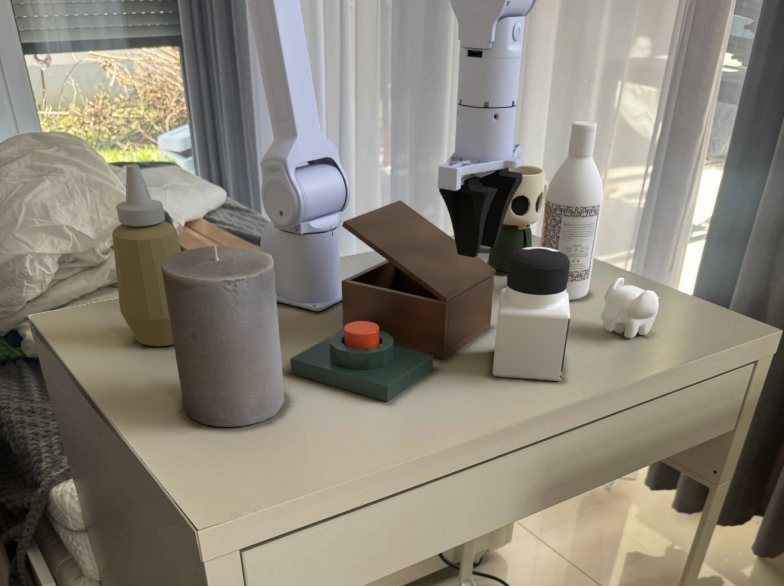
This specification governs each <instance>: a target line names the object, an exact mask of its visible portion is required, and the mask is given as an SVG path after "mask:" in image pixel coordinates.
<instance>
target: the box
mask: <svg viewBox="0 0 784 586" xmlns="http://www.w3.org/2000/svg"><path fill="white" fill-rule="evenodd" d="M340 283H341V287H342V300H341V307H342V331H344V327H345V325H346V324H348V323H351V322H356V321H368V322H372V323H375V324H377V325H378V326H379V331H383V332H386V333H388V334H389V335H390V336H392V337H393V338H394V345H395V346H399V347H403V348H407V349H411V350H415V351H418V352H422V353H426V354H430V355H433V359H437V360H441V361H445V360H446V359H448V358H449V357H450V356H452V355H453V354H454V353H456V352H458V351H459V350H460V349H462V348H464V347H465V346H466V345H467V344H469V343H471V342H472V341H473V340H475V339H476V338H478V337H479V336H480V335H482V334H483V333H485V332H486V331H488V330H489V329H491V324H492V323H491V322H492V312H493V311H492V310H493V299H494V289H495V288H494V287H495V274H494V275H492V276H490V277H488V278H487V279H485V280H483V281H482V282H480V283H478V284H477V285H475V286H473V287H472V288H470V289H468V290H467V291H465V292H463V293H462V294H460V295H458V296H457V297H455V298H453V299H452V300H450V301H448V302H447V303H444V302H443V301H441V300H440V299H439V298H437V297H436V296H435V295H433V294H432V293H431V292H429V291H428V290H427V289H425V288H424V287H423V286H421V285H420V284H419V283H417V282H416V281H415V280H413V279H412V278H411V277H409V276H408V275H407V274H405V273H404V272H403V271H401V270H400V269H399V268H397V267H396V266H395V265H393V264H392V263H390V262H389V261H388V260H386V259H385V260H383V261H381V262H379V263H376V264H375V265H373V266H370V267H367V268H366V269H364V270H362V271H359V272H357V273H355V274H353V275H351V276H349V277H347V278H344V279H342V280H340Z"/></svg>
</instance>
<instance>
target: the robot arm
mask: <svg viewBox="0 0 784 586" xmlns="http://www.w3.org/2000/svg"><path fill="white" fill-rule="evenodd" d="M246 1H247V7H248V11H249V17H250V21H251V27H252V32H253V37H254V42H255V49H256V52H257V58H258V64H259V68H260V73H261V79H262V84H263V88H264V94H265V99H266V104H267V109H268V115H269V120H270V125H271V131H272V135H273V141H272V142H271V144H270V146H269V147H268V149H267V150H266V152H265V154H264V155H263V157H262V158H261V159H260V161H259V164H260V165H259V166H260V169H261V170H260V171H261V175H262V177H261V178H262V183H261V189H260V190H261V202H262V206H263V209H264V212H265V214H266V215H267V217H268V219H269V220H270V222H268V223H267V224H266V225H265V226H264V228H263V230H262V233H261V236H260V245H259V247H260V250H259V251H262V252H263V253H268V254H270V255H271V256H273V257H272V259H273V261H274V262H273V263H274V265H273V267H274V276H275V291H276V300H277V303H283V304H286V305H290V306H294V307H297V308H298V307H299V308H303V309H306V310H310V311H314V312H320V311H323V310H325V309H327V308H329V307H331V306H333V305H335V304H337V303H339V302H342V286H341V273H340V271H341V270H340V245H339V244H340V243H339V223H341V222H342V213H343V212H344V211H345V210H346V209H347V207H348V205H349V204H350V203H349V202H350V199H351V186H350V182H349V178H348V176H347V173H346V172H345V170H344V168H343V165H342V163H341V160H340V153H339V149H338V147H337V146H336V145H335V143H333V142H332V141H331V140H330V139H329V138H328V137H326V136H325V135H324V133H323V132H322V129H321V123H320V115H319V111H318V105H317V98H316V93H315V92H316V91H315V85H314V79H313V75H312V69H311V61H310V57H309V50H308V44H307V38H306V31H305V27H304V21H303V20H304V19H303V14H302V13H303V12H302V8H301V1H300V0H246ZM448 1H449V4H450V6H451V9H452V11H453V14H454V15H455V17H456V20H457V25H458V29H457V30H458V31H457V32H458V33H457V40H458V41H459V54H458V55H459V57H458V77H457V99H456V102H457V103H456V117H455V119H456V120H455V137H454V138H455V139H454V140H455V141H454V152H453V153H452V154H451V155H450V157H448V159H447V160H446V162H444V163H443V164H441V165H439V166H438V169H437V170H438V171H437V173H438V174H437V188H438V192H439V194H440V196H441V198H442V200H443V202H444V204H445V206H446V209H447V212H448V215H449V218H450V222H451V226H452V232H453V237H454V238H453V239H454V240H455V243H456V249H457V253H458V255H463V256H468V257H473V258H475V257H479V253H480V249H481V246H482V247H489V248H490V247H492V248H493V247H495V246H496V244H497V241H498V238H499V235H500V231H501V228H502V225H503V221H504V218H505V215H506V212H507V210H508V207H509V205H510V202H511V200H512V198H513V196H514V194H515V192H516V191H517V189H518V187H519V186H520V184H521V183H522V176H523V174H522V173H519V172H512V171H509V168H518V167H521V166H522V165H524V158H523V152H524V145H523V144H518V143H514V141H515V133H516V132H515V131H516V120H517V108H518V100H519V99H518V98H519V90H520V89H519V88H520V77H521V67H522V66H521V65H522V54H523V45H524V43H523V42H524V31H525V20H526V17H527V16H528V15H529V14H530V13H531V11H532V10H533V8H534V6H535V4H536V2H537V0H448ZM302 163H307V164H305V165H301V164H302ZM299 165H301V166H299Z"/></svg>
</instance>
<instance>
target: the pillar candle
mask: <svg viewBox="0 0 784 586" xmlns="http://www.w3.org/2000/svg"><path fill="white" fill-rule="evenodd" d="M181 251H182V252H178V253H175V254H173V255H171V256H169V257H168V258H167V259H165V260H164V261H163V263H162V265H161V268H162V274H163V280H164V287H165V293H166V299H167V304H168V311H169V316H170V323H171V329H172V335H173V343H174V344H173V349H174V354H175V361H176V367H177V373H178V379H179V385H180V391H181V400H182V405H183V410H184V412H185V413H186V415H187V416H188V417H189V418H190V419H191V420H194V421H196V422H197V423H200V424H203V425H207V426H214V427H220V428H234V427H245V426H249V425H254V424H256V423H257V424H258V423H261V422H265V421H266V420H268V419H271V418H272V417H274V416H276V415H277V414H278V412H279V411H280V409H281V408H282V407H283V405H284V403H285V390H284V389H285V388H284V375H283V361H282V351H281V339H280V326H279V315H278V304H277V303H278V301H277V300H276V291H275V276H274V267H273V265H274V263H273V262H274V261H273V259H272V257H273V256H271V255H270V254H268V253H263V252H262V251H260V250H259V249H255V248H250V247H245V246H235V245H217V244H214V245H211V246H201V247H196V248H189V249H186V250H181Z"/></svg>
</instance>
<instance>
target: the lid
mask: <svg viewBox="0 0 784 586" xmlns="http://www.w3.org/2000/svg"><path fill="white" fill-rule="evenodd" d="M341 227H342V228H343V229H345V230H346V231H348V232H349V233H350V234H351V235H353V236H354V237H356V239H358V240H360V241H361V242H362V243H364V244H365V245H366V246H368V247H369V248H370V249H372V250H373V251H374V252H376V253H377V254H378V255H380V256H381V257H382V258H384V259H385V260H388V261H389V262H390V263H392V264H393V265H395V266H396V267H397V268H399V269H400V270H401V271H403V272H404V273H405V274H407V275H408V276H409V277H411V278H412V279H413V280H415V281H416V282H417V283H419V284H420V285H421V286H423V287H424V288H425V289H427V290H428V291H429V292H431V293H432V294H433V295H435V296H436V297H437V298H439V299H440V300H441V301H443V302H444V303H447V302H448V301H450V300H452V299H453V298H455V297H457V296H458V295H460V294H462V293H463V292H465V291H467V290H468V289H470V288H472V287H473V286H475V285H477V284H478V283H480V282H482V281H483V280H485V279H487V278H488V277H490V276H492V275H494V276H495V274H496V272H497V269H496V268H494V267H492V266H491V265H489V264H488V262H486V261H484V260H483V259H482V258H480V257H479V256H477V257H475V258H473V257H468V256H463V255H458V253H457V249H456V243H455V238H453V237H452V236H450V235H449V234H448V233H446V232H445V231H444V230H442V229H440V228H439V227H438V226H436V225H435V224H434V223H433V222H432V221H430V220H428V219H427V218H426V217H424V216H423V215H422V214H420V213H419V212H418V211H416V210H415V209H414V208H412V207H411V206H409V205H408V204H407V203H406V202H404V201H402V200H401V199H400V200H397V201H394V202H391V203H388V204H386V205H383V206H381V207H377V208H375V209H373V210H369V211H368V212H365V213H362V214H360V215H357V216H354V217H351V218H349V219H347V220H343V222H342V225H341Z"/></svg>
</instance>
